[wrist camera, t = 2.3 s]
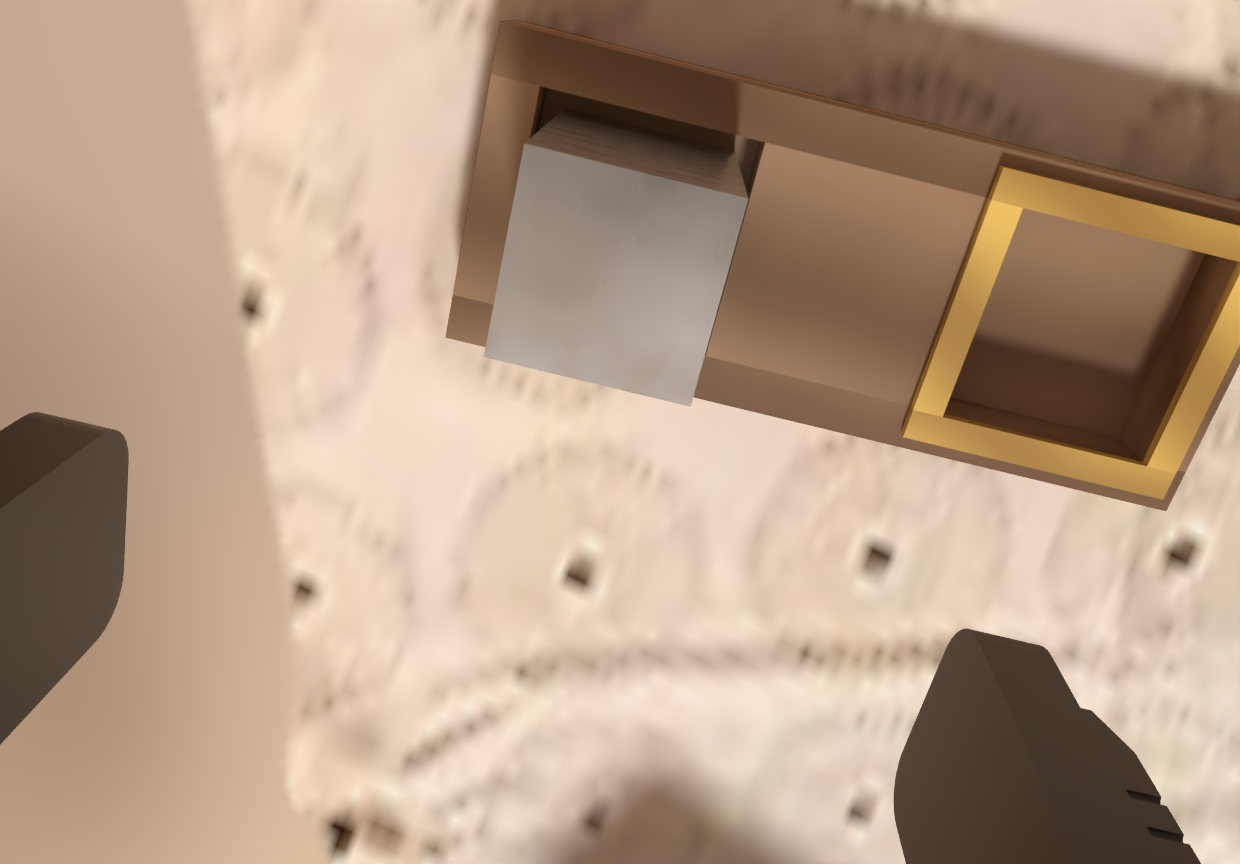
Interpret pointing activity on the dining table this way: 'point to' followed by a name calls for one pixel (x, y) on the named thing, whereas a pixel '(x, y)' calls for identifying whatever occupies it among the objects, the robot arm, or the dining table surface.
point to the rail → (910, 272)
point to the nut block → (616, 255)
